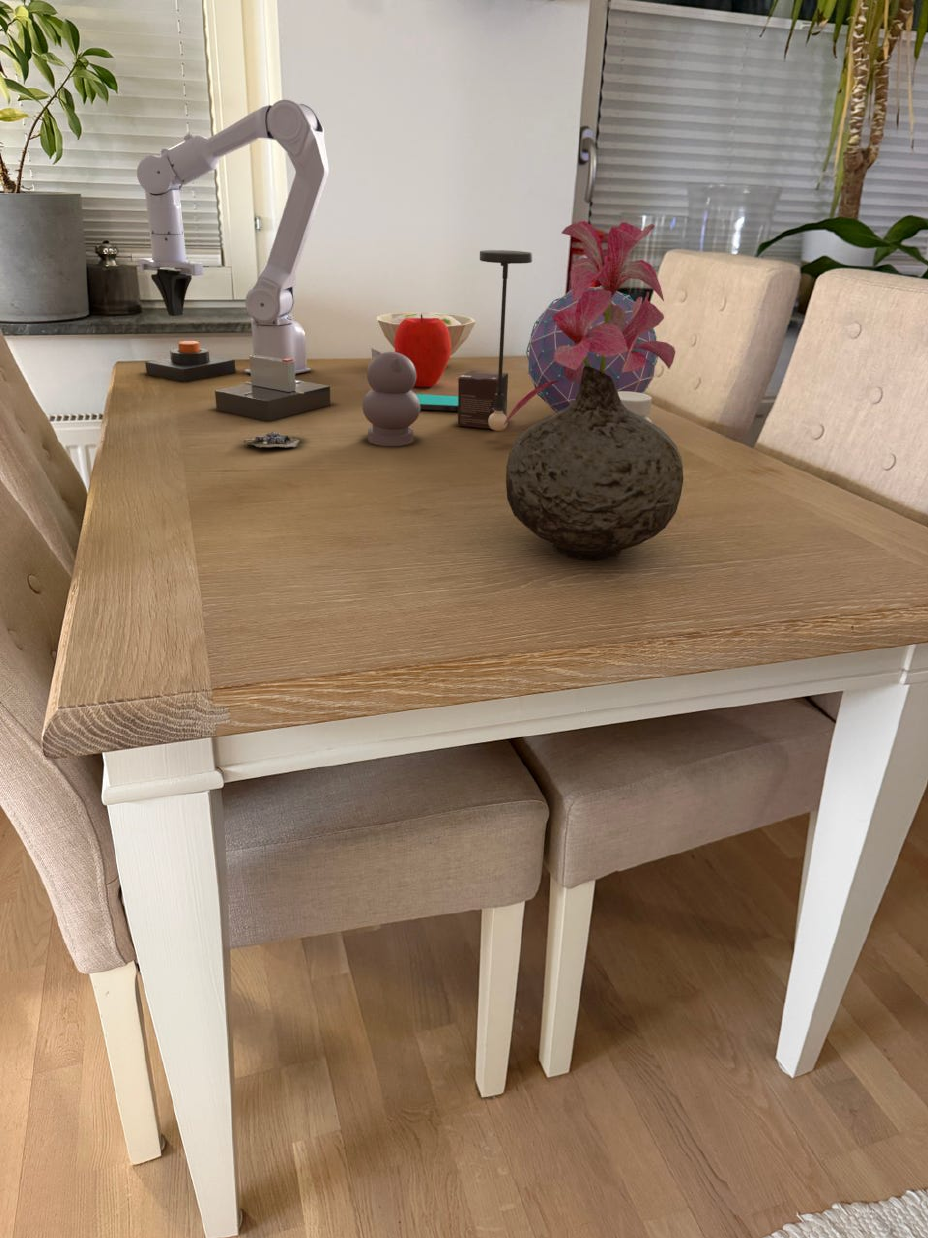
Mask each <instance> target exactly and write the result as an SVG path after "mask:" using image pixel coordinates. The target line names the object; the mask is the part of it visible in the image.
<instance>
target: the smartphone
mask: <svg viewBox="0 0 928 1238" xmlns="http://www.w3.org/2000/svg"><path fill="white" fill-rule="evenodd" d="M415 395H416V396H417V398H418V400H419V403H420V408H421V409H420V410H431V411H433V410H434V411H449V412H450V411H453V412H458V395H450V394H449V395H446V394H426V393H425V394H424V393H415Z"/></svg>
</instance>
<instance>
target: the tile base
mask: <svg viewBox="0 0 928 1238" xmlns="http://www.w3.org/2000/svg"><path fill="white" fill-rule="evenodd" d="M295 383H296V391H292V392H285V391H280V390H275V389H270V388H264V387H259V386H254V385H251V381H250V382H249V381H244V383H243V384H240V385H235V386H234V385H233V386H230V387H224V388H220V389H216V390H214V397H215V408H216V411H219V412H223V413H229V414H232V415H238V416H242V417H246V418H251V419H256V420H261V421H266V422H271V421H275V420H278V419H282V418H286V417H287V418H288V417H290V416H294V415H298V414H301V413H305V412H308V411H312V410H316V409H320V408H324V407H328V406H331V386H330V385H326V384H321V383H315V382H310V381H304V380H299V379H295Z"/></svg>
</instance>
